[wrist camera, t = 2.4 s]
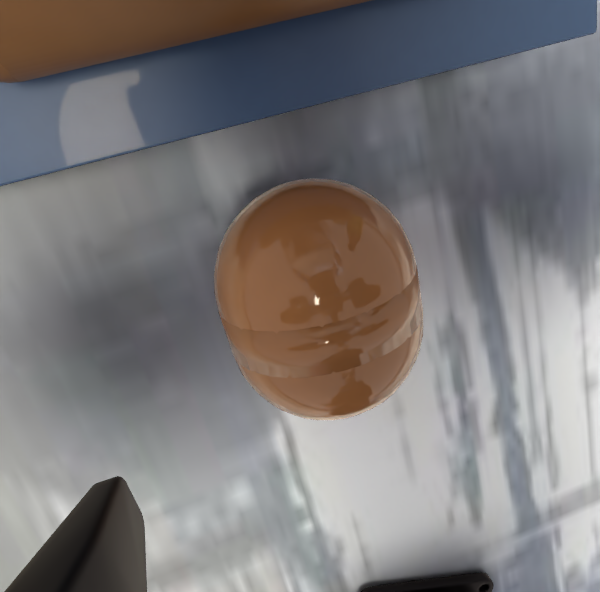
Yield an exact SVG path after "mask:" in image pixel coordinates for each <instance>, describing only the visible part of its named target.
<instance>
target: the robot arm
mask: <svg viewBox="0 0 600 592" xmlns="http://www.w3.org/2000/svg"><path fill="white" fill-rule="evenodd" d="M492 589H493V582H492V580H491V579H490V577H489V576H488V574H486V573H483V572H481V573H473V574H465V575H457V576H450V577H442V578H434V579H426V580H418V581H411V582H403V583H395V584H387V585H379V586H372V587H367V588H365V589H363V590H362V591H361V592H492ZM5 592H147V580H146V553H145V527H144V520H143V516H142V513H141V511H140V509H139V507H138V505H137V503H136V501H135V499H134V497H133V495H132V493H131V491H130V489H129V487H128V485H127V483H126V481H125V480H124V479H123V478H122V477H119V476H117V477H114V478H111V479H108V480H105V481H102V482H99V483H96V484H95V485H93V486H92V488H91V489H90V490H89V491H88V492H87V493H86V495H85V496H84V497H83V498H82V499H81V501H80V502H79V503H78V504H77V505H76V507H75V508H74V509H73V510H72V511H71V513H70V514H69V515H68V516H67V517H66V519H65V520H64V521H63V522H62V523H61V525H60V526H59V527H58V528H57V529H56V531H55V532H54V533H53V534H52V535H51V537H50V538H49V539H48V540H47V541H46V543H45V544H44V545H43V546H42V547H41V549H40V550H39V551H38V552H37V553H36V555H35V556H34V557H33V558H32V559H31V561H30V562H29V563H28V564H27V565H26V567H25V568H24V569H23V570H22V571H21V573H20V574H19V575H18V576H17V577H16V579H15V580H14V581H13V582H12V583H11V585H10V586H9V587H8V588H7V589H6V591H5Z"/></svg>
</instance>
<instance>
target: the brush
mask: <svg viewBox="0 0 600 592" xmlns="http://www.w3.org/2000/svg"><path fill="white" fill-rule="evenodd" d="M596 29H597V0H0V186H3V185H7V184H11V183H14V182H18V181H22V180H26V179H30V178H34V177H38V176H42V175H46V174H49V173H53V172H57V171H61V170H65V169H69V168H73V167H77V166H81V165H84V164H88V163H92V162H96V161H100V160H104V159H108V158H112V157H116V156H119V155H123V154H127V153H131V152H135V151H139V150H143V149H147V148H151V147H155V146H158V145H162V144H166V143H170V142H174V141H178V140H182V139H186V138H190V137H193V136H197V135H201V134H205V133H209V132H213V131H217V130H221V129H225V128H228V127H232V126H236V125H240V124H244V123H248V122H252V121H256V120H260V119H263V118H267V117H271V116H275V115H279V114H283V113H287V112H291V111H295V110H298V109H302V108H306V107H310V106H314V105H318V104H322V103H326V102H330V101H334V100H337V99H341V98H345V97H349V96H353V95H357V94H361V93H365V92H369V91H372V90H376V89H380V88H384V87H388V86H392V85H396V84H400V83H404V82H407V81H411V80H415V79H419V78H423V77H427V76H431V75H435V74H439V73H442V72H446V71H450V70H454V69H458V68H462V67H466V66H470V65H474V64H477V63H481V62H485V61H489V60H493V59H497V58H501V57H505V56H509V55H513V54H516V53H520V52H524V51H528V50H532V49H536V48H540V47H544V46H548V45H551V44H555V43H559V42H563V41H567V40H571V39H575V38H579V37H583V36H586V35H590V34H594V33H595V32H596Z"/></svg>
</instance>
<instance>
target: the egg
mask: <svg viewBox="0 0 600 592" xmlns="http://www.w3.org/2000/svg"><path fill="white" fill-rule="evenodd" d="M214 294H215V298H216V303H217V307H218V311H219V314H220V317H221V320H222V323H223V326H224V329H225V332H226V335H227V338H228V341H229V344H230V347H231V350H232V353H233V356H234V358H235V360H236V362H237V364H238V366H239V368H240V371H241V373H242V375H243V376H244V377H245V379H246V380H247V381H248V382H249V384H250V385H251V386H252V388H253V389H254V390H255V391H256V392H257V393H258V394H259V395H260V396H262V397H263V398H264V399H265V400H267V401H268V402H269V403H271V404H272V405H274V406H275V407H277V408H279V409H281V410H283V411H285V412H287V413H290V414H292V415H295V416H298V417H302V418H305V419H312V420H338V419H345V418H349V417H353V416H357V415H359V414H361V413H364V412H366V411H368V410H371V409H373V408H374V407H376V406H378V405H379V404H381V403H383V402H384V401H385V400H387V399H388V398H389V397H390V396H391V395H392V394H393V393H394V392H395V391H396V390H397V389H398V388H399V387H400V386H401V384H402V383H403V382H404V381H405V379H406V378H407V377H408V375H409V373H410V371H411V369H412V367H413V365H414V363H415V361H416V359H417V356H418V354H419V351H420V347H421V342H422V337H423V306H422V299H421V292H420V285H419V278H418V271H417V265H416V261H415V257H414V253H413V249H412V246H411V244H410V242H409V240H408V238H407V236H406V234H405V232H404V230H403V228H402V226H401V224H400V222H399V221H398V220H397V219H396V217H395V216H394V215H393V214H392V212H391V211H390V210H389V209H388V208H387V207H386V206H385V205H383V204H382V203H381V202H380V201H378V200H377V199H376V198H375V197H374V196H372V195H371V194H369V193H367V192H365V191H363V190H361V189H359V188H357V187H355V186H353V185H351V184H347V183H343V182H339V181H335V180H331V179H300V180H295V181H290V182H287V183H283V184H281V185H278V186H276V187H274V188H272V189H270V190H268V191H267V192H265V193H263V194H261V195H259V196H257V197H256V198H255V199H254V200H253V201H251V202H250V203H249V204H248V205H247V206H246V207H245V208H244V209H243V210H241V211H240V213H239V214H238V215H237V217H236V218H235V219H234V221H233V222H232V224H231V225H230V226H229V228H228V229H227V231H226V233H225V235H224V238H223V240H222V242H221V244H220V247H219V250H218V254H217V259H216V264H215V270H214Z"/></svg>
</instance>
